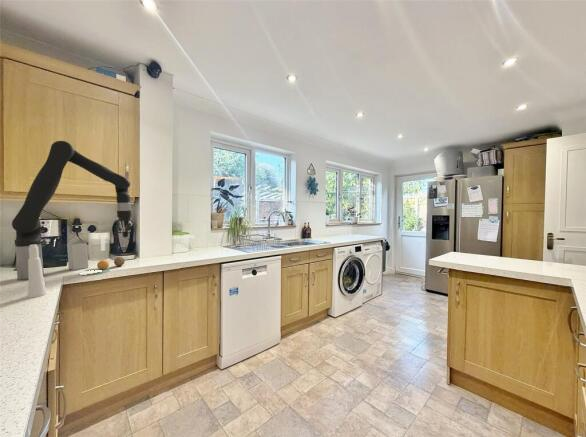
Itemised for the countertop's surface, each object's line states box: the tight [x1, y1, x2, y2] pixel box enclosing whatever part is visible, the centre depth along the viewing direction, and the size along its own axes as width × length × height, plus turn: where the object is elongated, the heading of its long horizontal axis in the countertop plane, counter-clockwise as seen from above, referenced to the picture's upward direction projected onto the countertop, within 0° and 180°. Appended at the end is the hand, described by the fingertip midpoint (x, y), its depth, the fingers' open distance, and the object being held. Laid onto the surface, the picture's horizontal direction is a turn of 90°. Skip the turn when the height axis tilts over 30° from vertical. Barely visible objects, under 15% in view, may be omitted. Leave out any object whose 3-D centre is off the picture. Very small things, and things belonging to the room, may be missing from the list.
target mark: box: [82, 267, 111, 277], centre depth 142 cm, size 14×14×1 cm
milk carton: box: [66, 235, 89, 271], centre depth 148 cm, size 7×7×19 cm
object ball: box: [96, 259, 110, 270], centre depth 146 cm, size 6×6×6 cm
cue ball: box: [113, 256, 126, 267], centre depth 154 cm, size 6×6×6 cm
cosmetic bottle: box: [26, 244, 48, 299], centre depth 107 cm, size 6×6×22 cm
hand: (125, 237), depth 158 cm, fingers closed
